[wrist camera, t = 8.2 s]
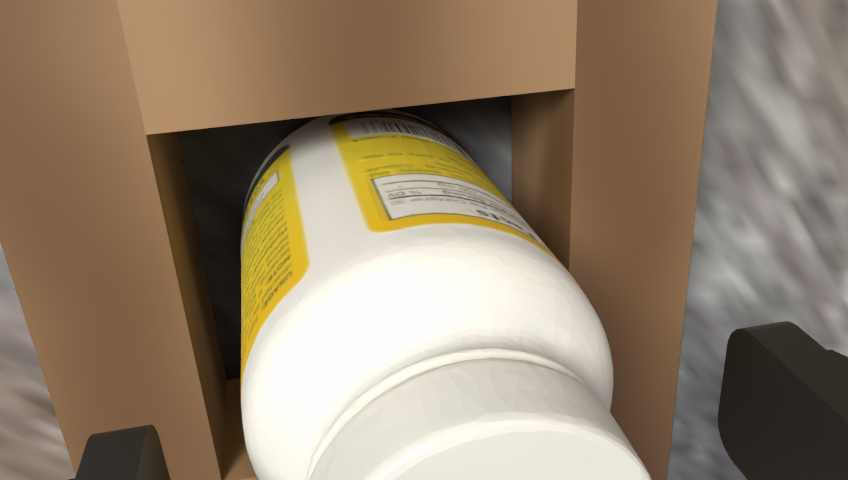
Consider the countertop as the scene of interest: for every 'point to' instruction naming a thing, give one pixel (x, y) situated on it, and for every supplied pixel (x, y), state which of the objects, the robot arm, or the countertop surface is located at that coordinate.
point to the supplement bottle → (412, 320)
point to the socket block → (317, 96)
